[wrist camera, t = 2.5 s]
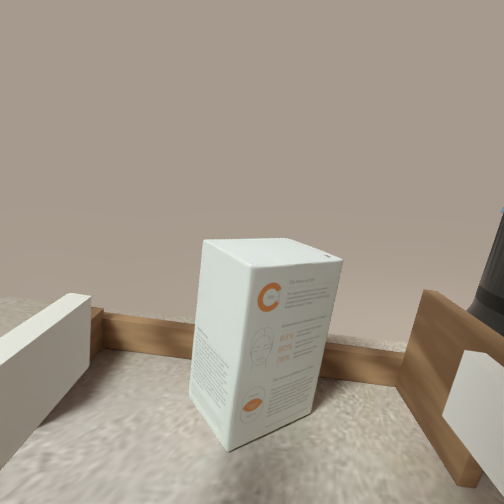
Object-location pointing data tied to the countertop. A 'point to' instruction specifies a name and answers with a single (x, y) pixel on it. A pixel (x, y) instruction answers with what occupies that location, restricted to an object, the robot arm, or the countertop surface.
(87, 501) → the countertop surface
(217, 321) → the small box
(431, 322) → the wooden u-shaped frame
